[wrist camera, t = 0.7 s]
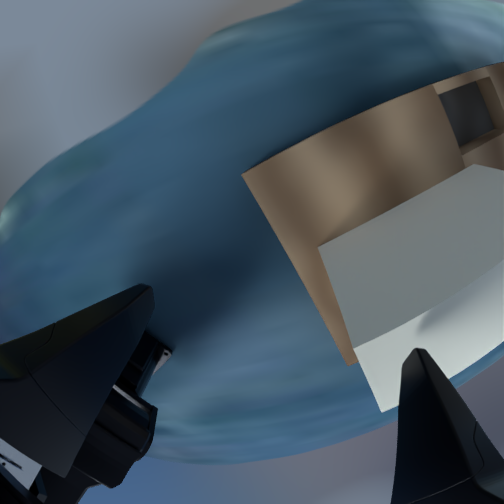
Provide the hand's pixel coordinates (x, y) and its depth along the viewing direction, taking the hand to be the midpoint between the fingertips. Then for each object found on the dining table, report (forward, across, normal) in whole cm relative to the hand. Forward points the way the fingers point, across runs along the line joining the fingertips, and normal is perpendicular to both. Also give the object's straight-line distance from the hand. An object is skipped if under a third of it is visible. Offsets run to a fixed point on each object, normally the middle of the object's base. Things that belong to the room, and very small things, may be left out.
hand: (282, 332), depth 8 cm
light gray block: (+12, -8, 0) cm, 14 cm away
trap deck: (+15, -11, -2) cm, 19 cm away
